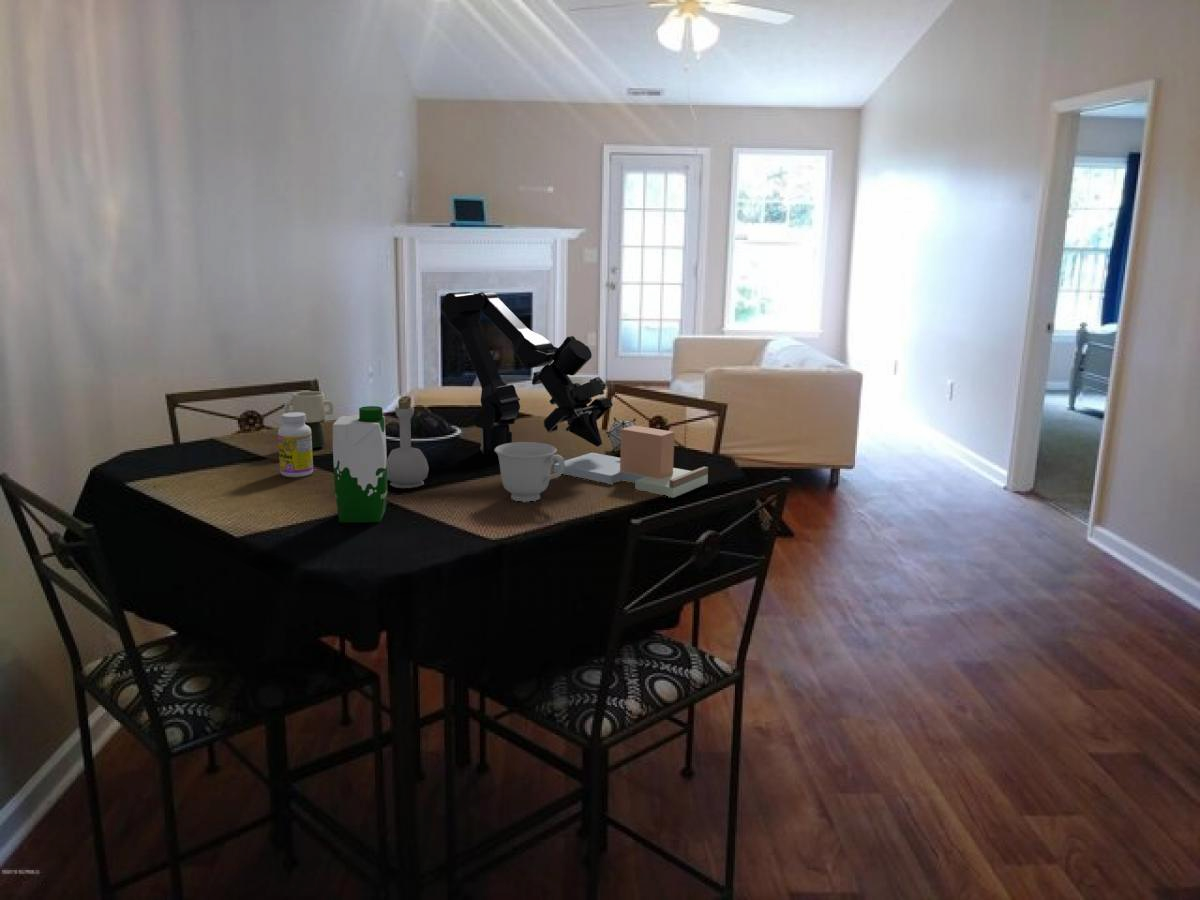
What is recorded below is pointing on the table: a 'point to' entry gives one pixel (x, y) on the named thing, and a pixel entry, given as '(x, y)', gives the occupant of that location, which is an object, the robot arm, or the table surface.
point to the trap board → (633, 475)
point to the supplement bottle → (295, 446)
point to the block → (647, 451)
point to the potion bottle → (406, 453)
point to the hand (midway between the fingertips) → (600, 445)
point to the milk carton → (360, 465)
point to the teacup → (527, 468)
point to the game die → (618, 432)
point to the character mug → (311, 412)
